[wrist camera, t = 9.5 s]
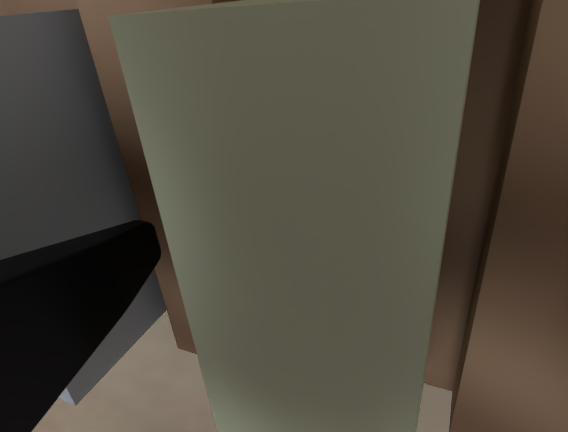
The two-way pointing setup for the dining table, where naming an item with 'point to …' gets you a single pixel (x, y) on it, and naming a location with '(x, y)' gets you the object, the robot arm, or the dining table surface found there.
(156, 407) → the dining table surface
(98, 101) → the slate block
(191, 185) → the sage block
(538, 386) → the slot rack
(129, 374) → the dining table surface
